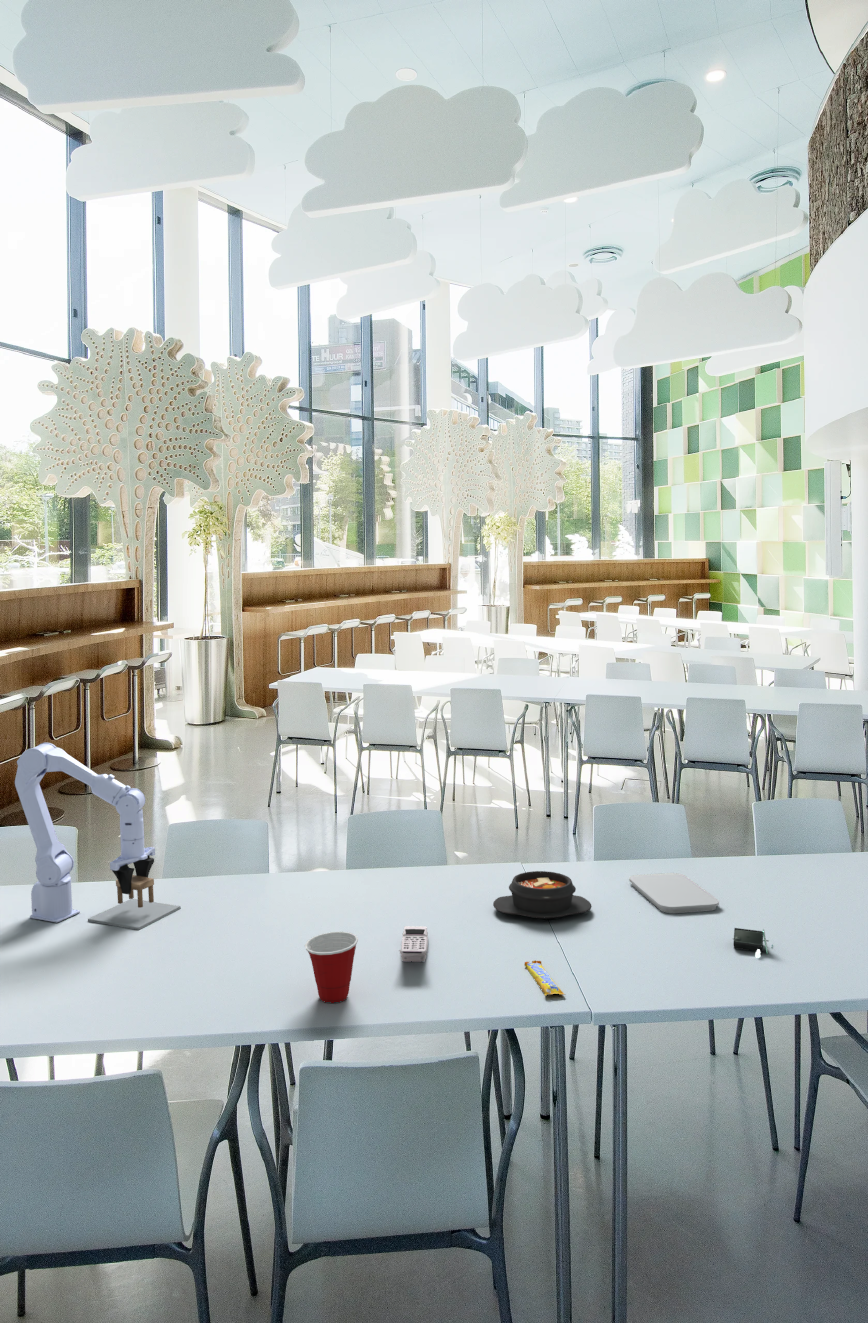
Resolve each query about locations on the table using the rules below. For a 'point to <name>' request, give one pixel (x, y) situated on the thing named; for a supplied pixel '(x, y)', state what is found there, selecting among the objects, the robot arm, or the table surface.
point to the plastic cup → (332, 963)
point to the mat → (134, 914)
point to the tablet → (674, 893)
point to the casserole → (542, 896)
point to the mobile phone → (414, 944)
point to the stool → (139, 885)
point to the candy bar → (543, 978)
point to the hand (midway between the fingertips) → (134, 890)
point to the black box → (750, 940)
